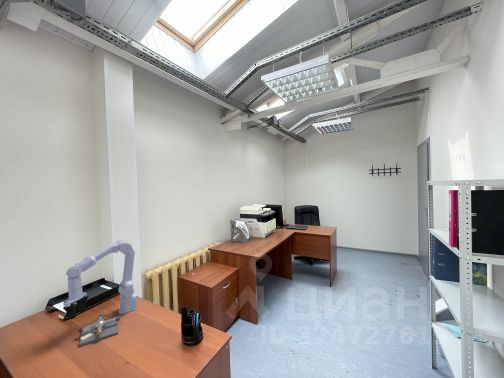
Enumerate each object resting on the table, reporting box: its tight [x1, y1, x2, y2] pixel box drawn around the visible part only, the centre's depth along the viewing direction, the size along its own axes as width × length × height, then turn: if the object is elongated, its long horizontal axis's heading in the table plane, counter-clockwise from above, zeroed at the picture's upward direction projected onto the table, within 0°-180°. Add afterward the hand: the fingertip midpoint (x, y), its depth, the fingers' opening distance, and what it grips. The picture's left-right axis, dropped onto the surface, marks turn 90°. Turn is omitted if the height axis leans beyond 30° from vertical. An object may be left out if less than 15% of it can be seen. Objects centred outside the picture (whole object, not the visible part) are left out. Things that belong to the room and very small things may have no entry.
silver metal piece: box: [77, 314, 121, 336], centre depth 115 cm, size 18×18×4 cm
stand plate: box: [78, 316, 119, 348], centre depth 115 cm, size 16×16×1 cm
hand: (77, 315), depth 113 cm, fingers open, 7 cm apart
